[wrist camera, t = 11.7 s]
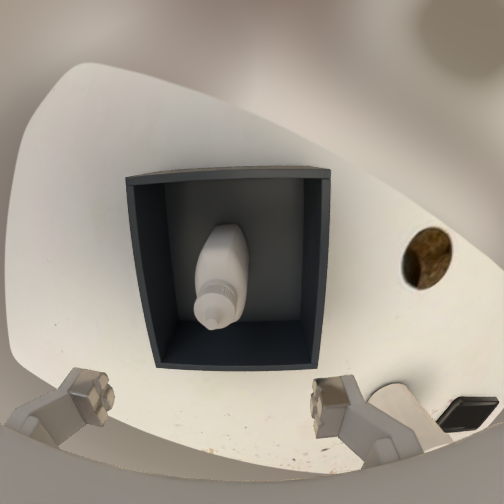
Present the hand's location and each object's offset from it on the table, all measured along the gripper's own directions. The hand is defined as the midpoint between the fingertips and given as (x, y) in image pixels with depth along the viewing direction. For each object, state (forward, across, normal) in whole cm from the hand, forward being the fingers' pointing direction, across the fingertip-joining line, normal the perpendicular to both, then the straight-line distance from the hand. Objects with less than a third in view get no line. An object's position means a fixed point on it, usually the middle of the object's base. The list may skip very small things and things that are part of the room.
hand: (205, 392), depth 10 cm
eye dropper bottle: (+17, 0, 0) cm, 17 cm away
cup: (+18, -19, +21) cm, 34 cm away
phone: (+17, -39, +31) cm, 53 cm away
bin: (+18, 0, 0) cm, 18 cm away
